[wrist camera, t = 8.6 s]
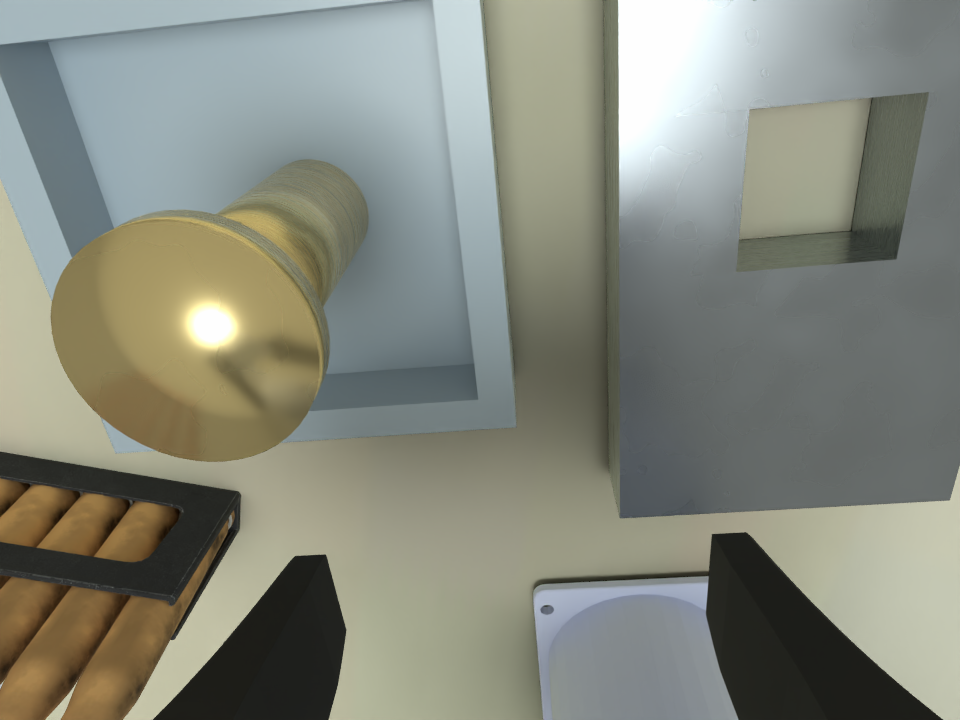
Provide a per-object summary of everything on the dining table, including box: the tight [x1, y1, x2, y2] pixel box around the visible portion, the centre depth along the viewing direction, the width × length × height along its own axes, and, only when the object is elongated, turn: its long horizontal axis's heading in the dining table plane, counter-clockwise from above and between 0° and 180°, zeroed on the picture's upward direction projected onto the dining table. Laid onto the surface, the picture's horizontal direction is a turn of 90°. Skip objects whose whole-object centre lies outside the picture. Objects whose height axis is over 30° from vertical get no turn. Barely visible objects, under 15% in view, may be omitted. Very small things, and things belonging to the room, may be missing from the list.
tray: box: [0, 0, 516, 453], centre depth 18 cm, size 12×12×3 cm
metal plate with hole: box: [603, 0, 960, 518], centre depth 17 cm, size 20×10×2 cm, turn 6°
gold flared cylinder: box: [51, 159, 369, 462], centre depth 15 cm, size 4×4×9 cm
